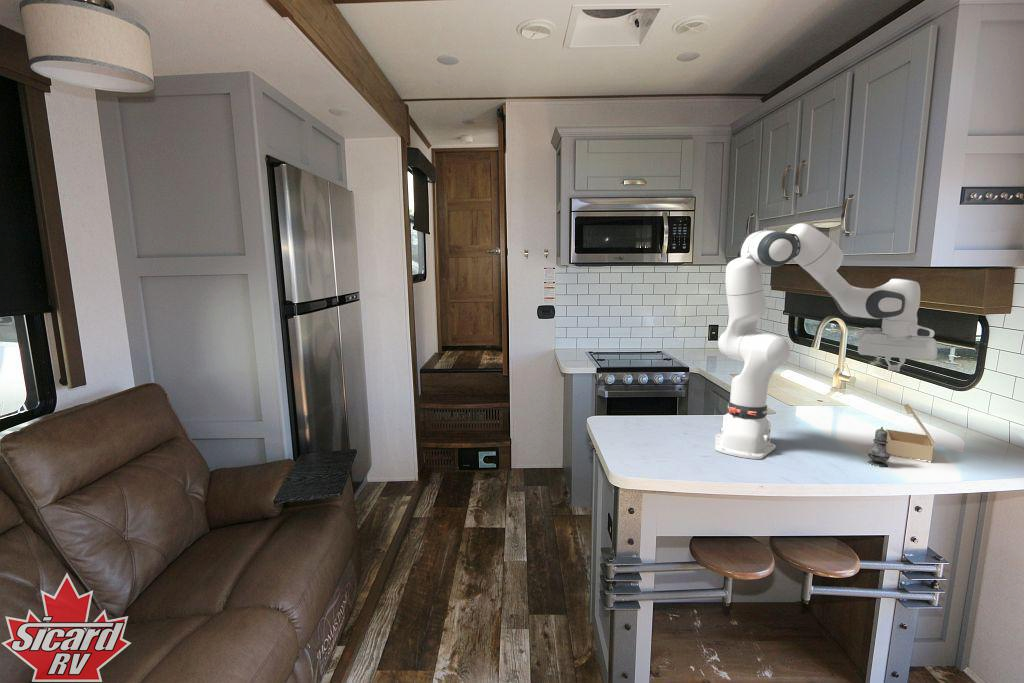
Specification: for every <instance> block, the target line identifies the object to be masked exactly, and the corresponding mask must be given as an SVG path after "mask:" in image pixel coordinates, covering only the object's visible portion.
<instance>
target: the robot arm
mask: <svg viewBox="0 0 1024 683" xmlns="http://www.w3.org/2000/svg"><path fill="white" fill-rule="evenodd" d="M736 257H737V258H734V259H733V260H731V261H730V262H728V263H727V265H726V267H725V292H726V300H727V310H728V322H727V325H726V328H725V330H724V331H723V332H722V333H721V335H720V336H719V338H718V341H717V342H718V343H717V344H718V345H717V346H718V350H719V352H720V354H722V355H724V356H725V357H727V358H729V359H731V360H733V361H738V362H742V363H743V364H744V365H743V368H742V370H741V372H740V373H739V374H737V375H735V376H734V377H733V378H732V379H731V384H730V385H731V386H730V395H729V396H730V398H729V401H728V404H727V413H726V414H723V422H722V428H721V427H720V429H719V430H720V433H717V434H715V438H714V450H715V451H717V452H719V453H722V454H725V455H730V456H735V457H740V458H744V459H745V458H746V459H751V460H753V459H754V460H757V459H758V460H761V459H763V458H765V457H766V456H768V455H769V454H770V453H771V452H772V451H775V449H776V445H775V444H773V443H771V425H772V424H771V422H770V421H769V420H768V419H767V414H768V405H767V397H768V388H769V385H770V380H771V378H772V376H773V374H774V373H775V371H776V370H777V369H779V367H781V366H783V365H784V364H786V362H787V361H788V360H789V357H790V355H791V347H790V344H789V341H788V340H787V339H786V338H784V337H781V336H779V335H777V334H775V333H771V332H762V331H758V329H757V324H758V321H759V320H760V319H761V318H762V317H763V316H764V315H765V314H766V311H767V306H766V298H765V290H764V284H763V283H764V282H763V273H764V271H765V268H766V267H772V268H776V267H777V268H778V267H780V266H783V265H785V264H787V263H789V262H790V261H791V260H793V261H794V262H795V263H796V264H797V265H799V266H800V267H801V268H802V269H803V270H805V271H806V272H807V273H808V274H809V275H810V276H811V277H812V278H813V280H815V281H816V283H817V284H818V285H820V286H821V288H822V289H823V290H824V291H825V292H827V294H828V295H829V296H830V297H831V299H833V301H834V303H835V305H836V308H837V309H838V311H839V312H840V313H841V314H842V315H844V316H845V317H848V318H861V319H862V318H863V319H872V320H873V319H874V320H880V319H882V321H881V327H870V326H869V327H868V326H867V327H863V328H860V329H859V331H858V336H857V337H858V339H859V343H858V346H857V353H858V354H859V355H861V356H872V357H873V356H875V357H884V360H885V362H886V363H887V365H888V366H887V371H889V372H899V373H900V370H901V366H903V364H904V363H905V362H906V359H910V360H922V361H931V362H933V361H935V360H936V359H937V358H938V343H937V340H936V339H935V338H934V337H935V330H933V329H931V328H928V327H925V326H924V325H918V310H919V308H920V304H921V286H920V284H919V282H918V281H917V280H914V279H911V278H910V279H909V278H902V277H901V278H900V277H898V278H897V277H895V278H894V277H893V278H891V279H889V281H887V282H886V283H884V284H882V285H880V286H876V287H874V288H865V287H864V288H863V287H857V286H853V285H851V284H849V282H847V280H846V279H845V278H843V277H842V276H841V275H840V274H839V272H838V271H837V270H838V269H839V268H840V267H841V265H842V264H843V260H844V253H843V251H842V249H841V248H840V247H839V246H838V245H837V244H836V242H834V240H832V239H830V238H829V237H828V236H827V235H826V234H825V233H823V232H822V231H820V230H818V229H817V228H815V227H814V226H811V225H810V224H808V223H803V222H801V223H800V222H799V223H796V224H794V225H792V226H790V227H789V228H788V229H787V230H786V231H775V230H771V229H770V230H769V229H766V230H754V231H752V232H750V233H748V234H747V235H746V236H745V237H744V238H743V240H742V242H741V243H740V247H739V250H738V253H737V256H736ZM892 358H898V359H899V360H898V361H899V363H898V364H897V365H896V364H892V363H891V362H890V361H891V359H892Z"/></svg>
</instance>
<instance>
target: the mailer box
mask: <svg viewBox="0 0 1024 683" xmlns="http://www.w3.org/2000/svg"><path fill="white" fill-rule="evenodd" d="M885 431H886V432H887V440H886V441H887V442H888V443H887V444H886V452H887V453H889V454H890V455H891V456H890V457H896V456H897V458H902V457H905V458H904V459H907V458H912V459H911V460H913V459H920V460H927V461H932V460H933V454H934V453H933V452H934V445H933V443H932V442H931V440H930V439H929V438H928V436H927V435H926V434H920V433H915V432H914V433H912V432H908V431H903V430H901V431H900V430H894V429H888V428H885Z"/></svg>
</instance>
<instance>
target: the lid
mask: <svg viewBox="0 0 1024 683" xmlns="http://www.w3.org/2000/svg"><path fill="white" fill-rule="evenodd" d="M903 407H904V409H905V412H906V414H907V415H910V414H911V415H912V417H913V418H914V419H915V421H916V422H917V424H918V425H919V427H920V428H921V429H922V430H923V432H924V434H925V435H927V436H928V438H929V439H930V441H931V443H932V445H933V447H935V446H937V445H936V443H935V441H934V439H933V437H932V436H931V434H930V433H929V431H928V429H926V427H925V426H924V424H923V422H922V420H920V418H919V417H918V415H917V414H916V413H915V411H914V410H913V409H912V407H911V406H910V405H909V403H905V404H903Z"/></svg>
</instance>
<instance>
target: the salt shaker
mask: <svg viewBox="0 0 1024 683" xmlns="http://www.w3.org/2000/svg"><path fill="white" fill-rule="evenodd" d="M886 440H887V432H886V429H884V427H883V426H881V427H880V428H878V429H876V430H875V435H874V439H872V441H873V447H872V449H867V451H866V452H867V454H868V458H869V460H867V461H866V463H867V462H868V463H869V464H868V463H867V464H868V465H870V464H871V466H873V465H874V466H873V467H876V466H879V467H878V468H884V467H885V468H888V467H889V464H887V463H886V462H888V461H889V460H890V458H891V457H892V456H891V455H890V454H889V453H887V452H886V444H887V443H888V442H887V441H886Z"/></svg>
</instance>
